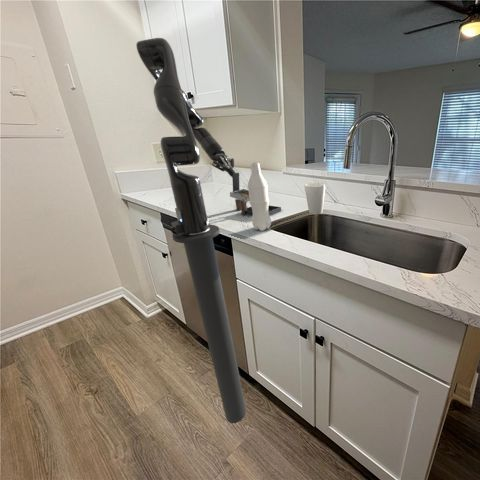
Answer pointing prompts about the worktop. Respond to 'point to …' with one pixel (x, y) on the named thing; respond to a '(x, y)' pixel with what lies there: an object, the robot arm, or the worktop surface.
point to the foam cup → (315, 197)
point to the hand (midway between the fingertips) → (234, 176)
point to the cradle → (241, 205)
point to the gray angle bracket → (236, 190)
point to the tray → (271, 210)
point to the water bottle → (259, 198)
